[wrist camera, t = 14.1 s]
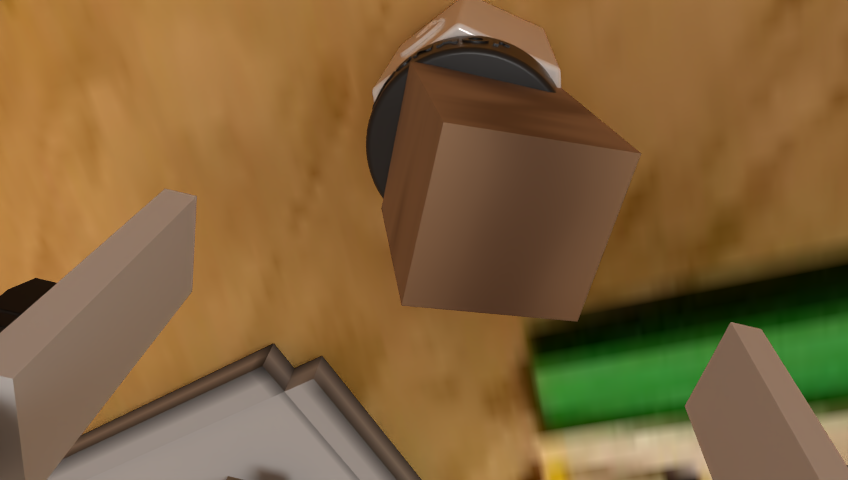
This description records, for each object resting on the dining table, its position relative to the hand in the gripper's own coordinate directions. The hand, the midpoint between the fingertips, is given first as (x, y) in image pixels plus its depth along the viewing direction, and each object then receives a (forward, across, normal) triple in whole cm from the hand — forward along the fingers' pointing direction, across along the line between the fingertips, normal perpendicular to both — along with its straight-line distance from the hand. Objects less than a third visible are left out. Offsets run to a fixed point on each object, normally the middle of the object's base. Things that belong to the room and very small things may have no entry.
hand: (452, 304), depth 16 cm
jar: (+23, 0, 0) cm, 23 cm away
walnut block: (+11, 0, 0) cm, 11 cm away
